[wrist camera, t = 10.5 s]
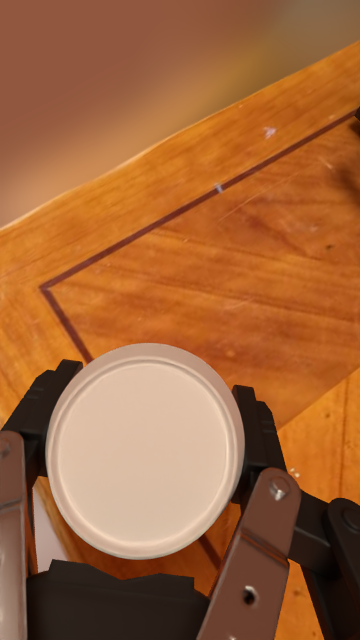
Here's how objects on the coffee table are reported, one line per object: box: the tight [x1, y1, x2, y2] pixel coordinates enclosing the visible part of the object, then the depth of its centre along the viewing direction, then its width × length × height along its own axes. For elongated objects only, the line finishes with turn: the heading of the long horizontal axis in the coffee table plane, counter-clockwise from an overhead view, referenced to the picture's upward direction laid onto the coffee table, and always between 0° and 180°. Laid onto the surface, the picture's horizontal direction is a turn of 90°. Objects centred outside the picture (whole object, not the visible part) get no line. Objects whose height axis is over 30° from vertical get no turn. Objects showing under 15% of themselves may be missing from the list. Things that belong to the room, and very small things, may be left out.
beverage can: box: [45, 343, 245, 560], centre depth 14 cm, size 6×6×12 cm
